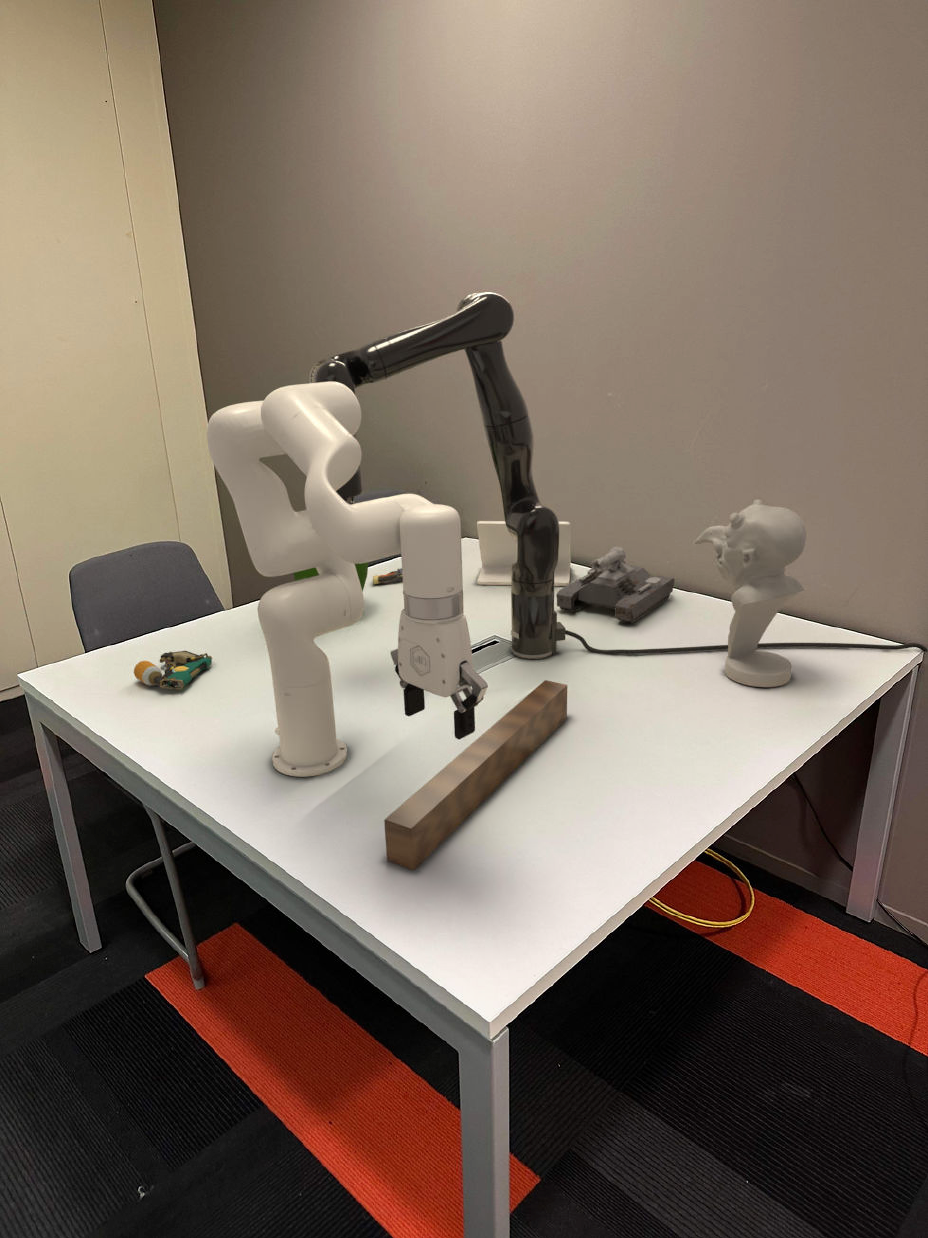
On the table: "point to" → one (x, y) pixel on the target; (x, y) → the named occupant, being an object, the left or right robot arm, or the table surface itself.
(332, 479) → the left robot arm
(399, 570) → the toy gun
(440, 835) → the bar
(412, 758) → the table surface
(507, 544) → the tablet stand
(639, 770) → the table surface
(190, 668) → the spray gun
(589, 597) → the toy
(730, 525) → the bust sculpture
